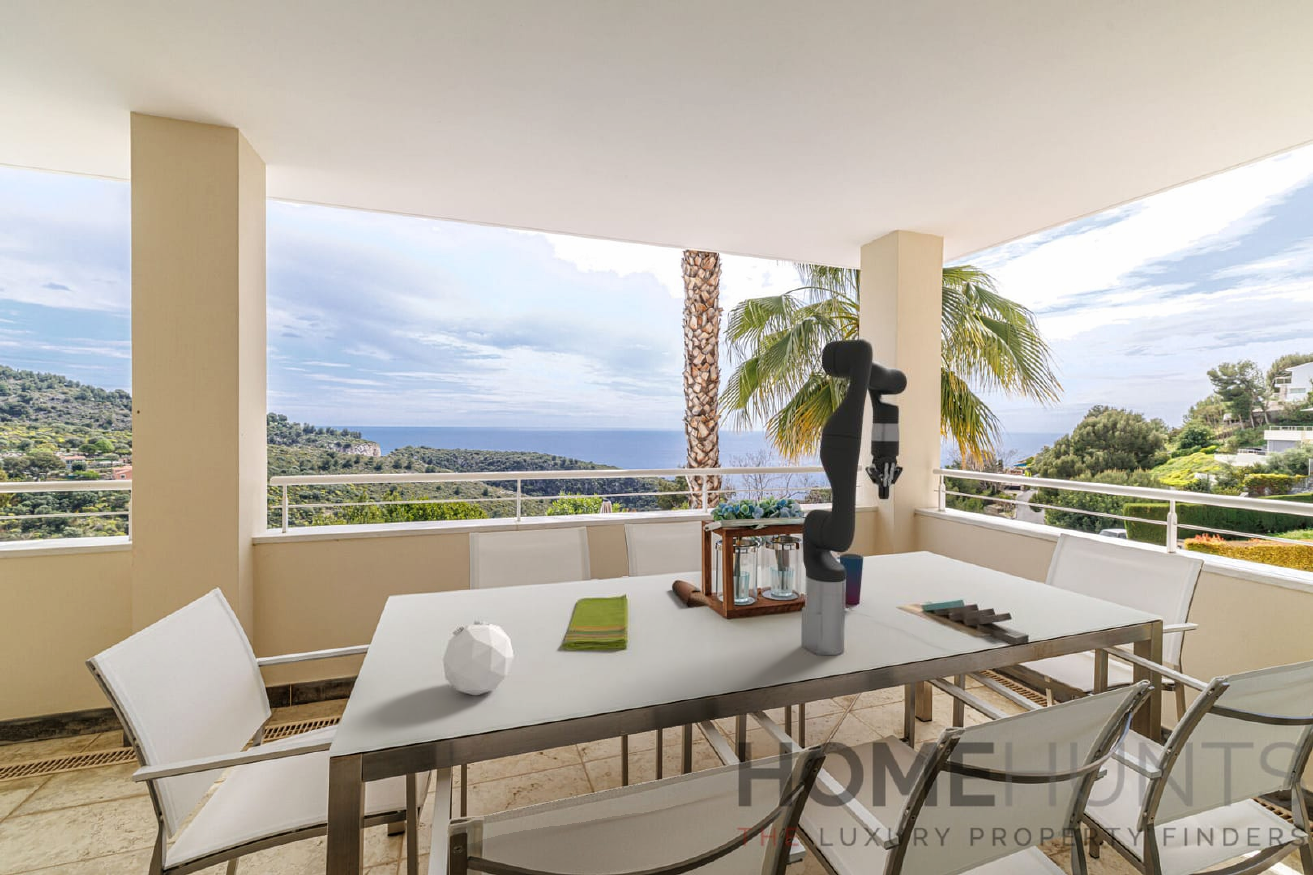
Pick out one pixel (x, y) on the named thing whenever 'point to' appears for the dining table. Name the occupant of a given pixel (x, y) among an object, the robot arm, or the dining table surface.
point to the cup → (852, 577)
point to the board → (942, 619)
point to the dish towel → (598, 624)
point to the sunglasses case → (690, 594)
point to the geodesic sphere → (478, 658)
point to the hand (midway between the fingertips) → (883, 499)
